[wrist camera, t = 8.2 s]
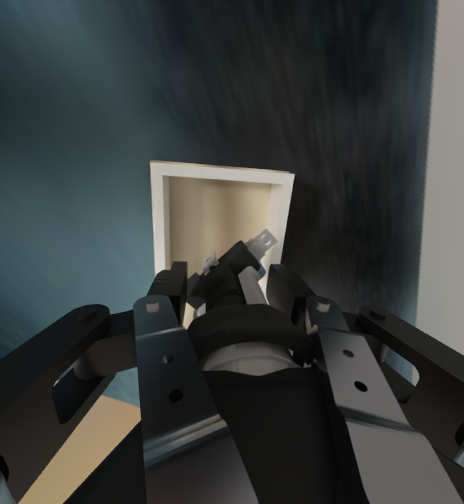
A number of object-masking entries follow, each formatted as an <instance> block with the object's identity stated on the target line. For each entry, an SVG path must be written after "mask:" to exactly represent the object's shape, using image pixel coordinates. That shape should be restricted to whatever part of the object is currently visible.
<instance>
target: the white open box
mask: <svg viewBox="0 0 464 504" xmlns="http://www.w3.org/2000/svg"><path fill="white" fill-rule="evenodd" d="M150 167H151V189H152V211H153V233H154V255H155V277H156V274H157V273H159V272H160V271H162V270H171V262H170V211H169V176H180V177H193V178H207V179H220V180H233V181H246V182H259V183H272V186H271V194H270V202H269V209H268V217H267V224H266V229H267V230H268V231H269V232H270V233H271V234H272V235H273V236H274V237H275V238H276V239H277V243H276V244H275V245H273V246H272V247H271V248H270V249H269V250H267V251H266V252H265V254H266V255H265V256H264V257H263V258H262V262H261V264H262V265H263V267H264V269H265V270H266V274H265V276H264V277H263V278H262V279H260V280H259V282H258V284H259V286H260V288H261V290H262V292H263V294H264V297H265V299H266V301H267V298H266V285H267V278H268V271H269V266H270V264H280V261H281V255H282V249H283V243H284V237H285V230H286V224H287V218H288V212H289V206H290V200H291V194H292V188H293V182H294V175H295V174H287V173H275V172H263V171H251V170H239V169H226V168H214V167H202V166H190V165H178V164H166V163H154V162H150ZM265 236H266V235H265ZM270 243H271V240H270V241H268V242H267V243H266V244H265V245H269V244H270ZM267 303H268V301H267ZM186 304H188V303H186ZM268 304H269V303H268Z"/></svg>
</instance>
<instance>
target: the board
mask: <svg viewBox="0 0 464 504" xmlns="http://www.w3.org/2000/svg"><path fill="white" fill-rule="evenodd" d="M150 162H154V163H166V164H178V165H190V166H202V167H214V168H226V169H239V170H251V171H263V172H275V173H287V174H290V172H287V171H276V170H264V169H252V168H240V167H228V166H216V165H204V164H193V163H181V162H169V161H157V160H150ZM150 178H151V167H150ZM271 186H272V183H259V182H246V181H233V180H220V179H207V178H193V177H180V176H169V211H170V262H171V267H172V264H173V261H187V263H188V277H187V280H188V279H189V278H190V277H191V276H192V275H193V274H194V273H198V274H199V275H201V274H202V273H203V261H204V260H205V259H206V258H207V257H208V256H209V255H210V254H211V253H213V252H216V259H217V260H218V259H219V258H220V257H221V256H222V255H223V254H225V253H226V252H227V251H228V250H229V249H230V248H231V247H232V246H233V245H234V244H235V243H237V242H238V241H240V240H242V241H243V242H244V243H246V242H247V241H248V240H249V239H251V238H252V239H254V238H255V237H256V236H257V235H258V234H260V233H261V232H262V231H263V230H264V229H266V224H267V217H268V209H269V202H270V194H271ZM151 199H152V189H151ZM152 221H153V211H152ZM263 237H265V235H262V236H261V239H262V238H263ZM153 242H154V233H153ZM211 258H212V257H211ZM211 258H209V260H210V259H211ZM209 260H208V261H209ZM208 261H207V262H208ZM260 262H262V258H261V259H260ZM154 264H155V255H154ZM258 282H259V281H258ZM268 305H269V304H268ZM197 312H198V311H196V310H195V309H194V308H193V307H191V306H190V305H189V304H186V307H185V314H184V321H183V326H185V328H186V330H187V328H188V327H189V325H190V323H191V322H192V321H193V320H194V319H195V318H197V317H198V316H197Z"/></svg>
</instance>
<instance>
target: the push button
mask: <svg viewBox="0 0 464 504" xmlns="http://www.w3.org/2000/svg"><path fill="white" fill-rule="evenodd" d="M262 235H266V236H265V237H263V238H262V239H261V236H262ZM270 240H271V243H270V244H269V245H265V244H266V243H267V242H268V241H270ZM276 243H277V239H276V238H275V237H274V236H273V235H272V234H271V233H270V232H269V231H268V230H267V229H264V230H263V231H262V232H261V233H260V234H258V235H257V236H256V237H255V238H254V239H252V238H251V239H249V240H248V241H247V242H246V243H244V242H243V241H242V240H240V241H238V242H237V243H235V244H234V245H233V246H232V247H231V248H230V249H229V250H228V251H227V252H226V253H225V254H223V255H222V256H221V257H220V258H219V259H218V260H217V259H216V252H213V253H211V254H210V255H209V256H208V257H207V258H206V259H205V260H204V261H203V273H202V274H201V275H199V274H198V273H194V274H193V275H192V276H191V277H190V278H189V279H188V280H187V301H186V303H188V304H189V305H190V306H191V307H193V308H194V309H195V310H196V311H198V312H197V316H198V317H197V318H195V319H194V320H193V321H192V322H191V323H190V325H189V327H188V328H187V333H188V335H189V338H190V341H191V343H192V346H193V349H194V351H195V354H196V356H197V359H198V362H199V364H200V367H201V370H202V371H215V370H228V371H233V372H238V373H244V374H249V375H255V376H261V375H265V374H268V373H271V372H275V371H278V370H281V369H285V368H296V367H304V364H305V363H306V364H307V366H308V363H309V358H310V354H311V350H312V346H313V340H312V338H311V336H310V335H309V334H307V333H306V332H305V331H304V330H302V329H301V328H299V327H297V326H295V325H294V324H293V323H292V321H291V319H290V317H289V316H288V315H287V314H286V313H285V312H282V311H280V310H278V309H276V308H274V307H271V306H269V305H268V303H267V301H266V299H265V297H264V294H263V292H262V290H261V288H260V286H259V284H258V281H259V280H260V279H262V278H263V277H264V276H265V274H266V270H265V269H264V267H263V265H262V264H261V262H260V259H261V258H263V257H264V256H265V255H266V254H265V252H266V251H267V250H269V249H270V248H271V247H272V246H273V245H275V244H276ZM211 257H212V258H211ZM209 258H211V259H210V260H209ZM208 260H209V261H208ZM207 261H208V262H207ZM289 349H290V350H292V351H293V356H291V354H290V351H289Z"/></svg>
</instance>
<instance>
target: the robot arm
mask: <svg viewBox="0 0 464 504" xmlns="http://www.w3.org/2000/svg"><path fill="white" fill-rule="evenodd" d="M187 277H188V263H187V261H173V264H172V267H171V270H162V271H160V272H159V273H157V274H156V277H155V279H154V281H153V283H152V285H151V287H150V289H149V292H148V294H147V296H145V297H142V298H140V299H138V300H137V301H136V302H135V303H134V305H133V309H132V310H130V311H126V312H121V313H116V314H111V315H110V311H109V308H108V307H106V306H104V305H100V304H91V305H85V306H82V307H79V308H76V309H74V310H72V311H70V312H69V313H67V314H66V315H64V316H63V317H61V318H60V319H59V320H57V321H56V322H54V323H53V324H51V325H50V326H48V327H47V328H45V329H44V330H43V331H41V332H40V333H38V334H37V335H35V336H34V337H32V338H31V339H29V340H28V341H27V342H25V343H24V344H22V345H21V346H19V347H18V348H16V349H15V350H13V351H12V352H11V353H9V354H8V355H6V356H5V357H3V358H2V359H0V504H18V503H19V501H20V500H21V499H22V498H23V496H24V495H25V494H26V492H27V491H28V490H29V488H30V487H31V486H32V484H33V483H34V482H35V480H36V479H37V478H38V477H39V475H40V474H41V473H42V471H43V470H44V469H45V467H46V466H47V465H48V464H49V462H50V461H51V459H52V458H53V457H54V456H55V454H56V453H57V452H58V450H59V449H60V448H61V447H62V445H63V444H64V442H65V441H66V440H67V438H68V437H69V436H70V435H71V433H72V432H73V431H74V430H75V428H76V427H77V425H78V424H79V423H80V422H81V420H82V419H83V418H84V416H85V415H86V414H87V412H88V411H89V410H90V409H91V407H92V406H93V405H94V403H95V402H96V401H97V399H98V398H99V397H100V396H101V394H102V393H103V392H104V390H105V389H106V388H107V386H108V385H109V384H110V382H111V381H112V380H113V379H114V377H115V375H116V373H117V372H120V371H124V370H127V369H131V368H134V367H137V368H138V382H139V396H140V410H141V421H140V422H139V423H138V424H137V425H136V426H135V427H134V428H133V429H132V430H131V431H130V432H129V433H128V435H127V436H126V437H125V438H124V439H123V440H122V441H121V442H120V443H119V444H118V445H117V446H116V447H115V448H114V449H113V451H112V452H111V453H110V454H109V455H108V456H107V457H106V458H105V459H104V460H103V461H102V462H101V463H100V465H99V466H98V467H97V468H96V469H95V470H94V471H93V472H92V473H91V474H90V475H89V476H88V477H87V478H86V479H85V481H84V482H83V483H82V484H81V485H80V486H79V487H78V488H77V489H76V490H75V491H74V492H73V493H72V495H71V496H70V497H69V498H68V499H67V500H66V501H65V502H64V503H63V504H464V355H462V354H460V353H458V352H457V351H455V350H453V349H452V348H450V347H448V346H446V345H445V344H443V343H441V342H439V341H438V340H436V339H435V338H433V337H431V336H429V335H428V334H426V333H424V332H423V331H421V330H419V329H417V328H416V327H414V326H412V325H411V324H409V323H407V322H405V321H404V320H402V319H400V318H399V317H397V316H395V315H394V314H392V313H390V312H388V311H386V310H384V309H382V308H379V307H376V306H371V305H364V306H361V307H360V309H359V312H358V315H357V314H352V313H346V312H341V310H340V308H339V306H338V305H337V304H336V303H335V302H334V301H332V300H330V299H328V298H325V297H321V296H317V295H316V294H315V293H314V292H313V291H312V290H311V289H310V287H308V285H307V284H306V283H304V281H303V279H302V278H301V277H300V276H298V275H296V274H294V273H291V272H290V271H289V269H288V268H287V267H286V266H285V265H284V264H270V266H269V271H268V278H267V285H266V298H267V301H268V303H269V305H270V306H271V307H274V308H276V309H278V310H280V311H282V312H285V313H286V314H287V315H288V316H289V317H290V319H291V321H292V323H293V324H294V325H295V326H297V327H299V328H301V329H302V330H304V331H305V332H306V333H307V334H309V335H310V336H311V338H312V340H313V346H312V350H311V354H310V358H309V363H308V366H307V364H306V363H305V364H304V367H296V368H285V369H281V370H278V371H275V372H271V373H268V374H265V375H261V376H255V375H249V374H244V373H238V372H233V371H228V370H215V371H202V370H201V367H200V364H199V362H198V359H197V356H196V354H195V351H194V349H193V346H192V343H191V341H190V338H189V335H188V333H187V330H186V328H185V326H183V321H184V314H185V307H186V301H187ZM388 348H391V349H392V350H394V351H395V352H396V353H398V354H399V355H400V356H402V357H403V358H405V359H406V360H407V361H409V362H410V363H411V364H413V365H414V366H415V367H416V369H417V371H418V373H419V381H418V383H417V385H416V387H415V386H414V385H413V384H411V383H410V382H409V381H408V380H406V379H405V378H404V377H403V376H401V375H400V374H399V373H398V372H396V371H395V370H394V369H393V368H391V367H390V366H389V365H388V364H386V363H385V362H384V361H383V360H384V358H385V355H386V353H387V350H388ZM72 364H73V368H72V369H71V370H70V371H69V372H68V373H67V374H66V375H65V376H64V377H63V378H62V379H61V380H60V381H59V382H58V383H57V384H56V385H55V386H54V384H55V382H56V381H57V379H58V378H59V377H60V376H61V375H62V374H63V373H64V372H65V371H66V370H67V369H68V368H69V367H70V366H71V365H72ZM53 386H54V387H53Z"/></svg>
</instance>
